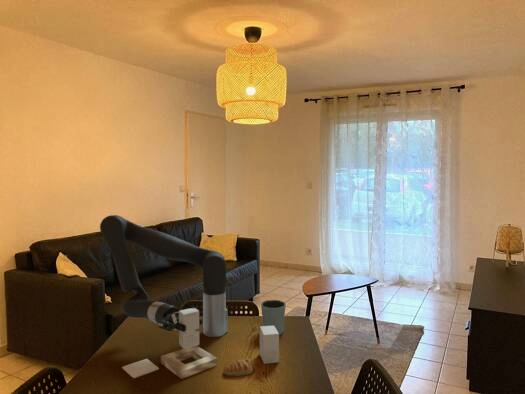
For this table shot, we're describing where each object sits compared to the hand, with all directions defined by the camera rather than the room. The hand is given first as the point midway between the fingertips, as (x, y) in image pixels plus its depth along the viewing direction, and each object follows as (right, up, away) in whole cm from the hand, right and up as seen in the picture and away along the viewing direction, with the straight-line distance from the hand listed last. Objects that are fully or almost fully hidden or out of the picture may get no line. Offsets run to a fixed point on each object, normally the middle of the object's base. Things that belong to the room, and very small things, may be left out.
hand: (193, 325), depth 139 cm
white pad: (-18, -14, -1) cm, 23 cm away
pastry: (+16, -15, -2) cm, 22 cm away
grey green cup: (+28, -13, +30) cm, 43 cm away
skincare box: (-2, -8, +2) cm, 8 cm away
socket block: (-2, -14, +2) cm, 15 cm away
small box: (+26, -14, +7) cm, 31 cm away
